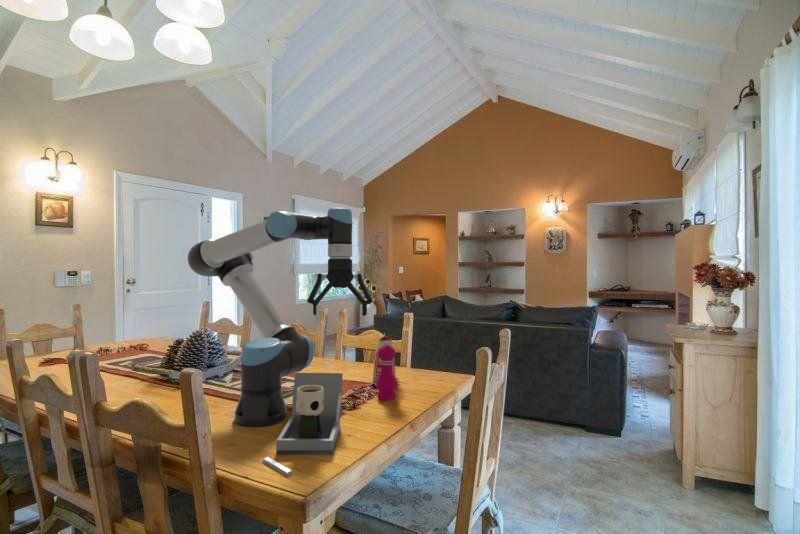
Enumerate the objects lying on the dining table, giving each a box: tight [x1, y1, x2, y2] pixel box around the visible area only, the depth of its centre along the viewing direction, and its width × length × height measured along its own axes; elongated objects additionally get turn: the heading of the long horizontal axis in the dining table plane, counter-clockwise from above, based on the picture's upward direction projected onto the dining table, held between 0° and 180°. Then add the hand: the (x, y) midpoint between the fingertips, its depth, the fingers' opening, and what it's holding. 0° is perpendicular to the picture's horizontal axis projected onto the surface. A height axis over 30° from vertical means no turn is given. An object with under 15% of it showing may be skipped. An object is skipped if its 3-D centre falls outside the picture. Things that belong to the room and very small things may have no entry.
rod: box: [262, 456, 293, 477], centre depth 102 cm, size 10×1×1 cm, turn 49°
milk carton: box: [371, 332, 397, 385], centre depth 173 cm, size 9×9×20 cm
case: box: [275, 372, 343, 455], centre depth 120 cm, size 14×22×15 cm, turn 1°
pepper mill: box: [375, 341, 397, 401], centre depth 154 cm, size 7×7×20 cm
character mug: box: [296, 385, 324, 439], centre depth 117 cm, size 11×7×13 cm, turn 152°
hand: (340, 326), depth 137 cm, fingers open, 13 cm apart
